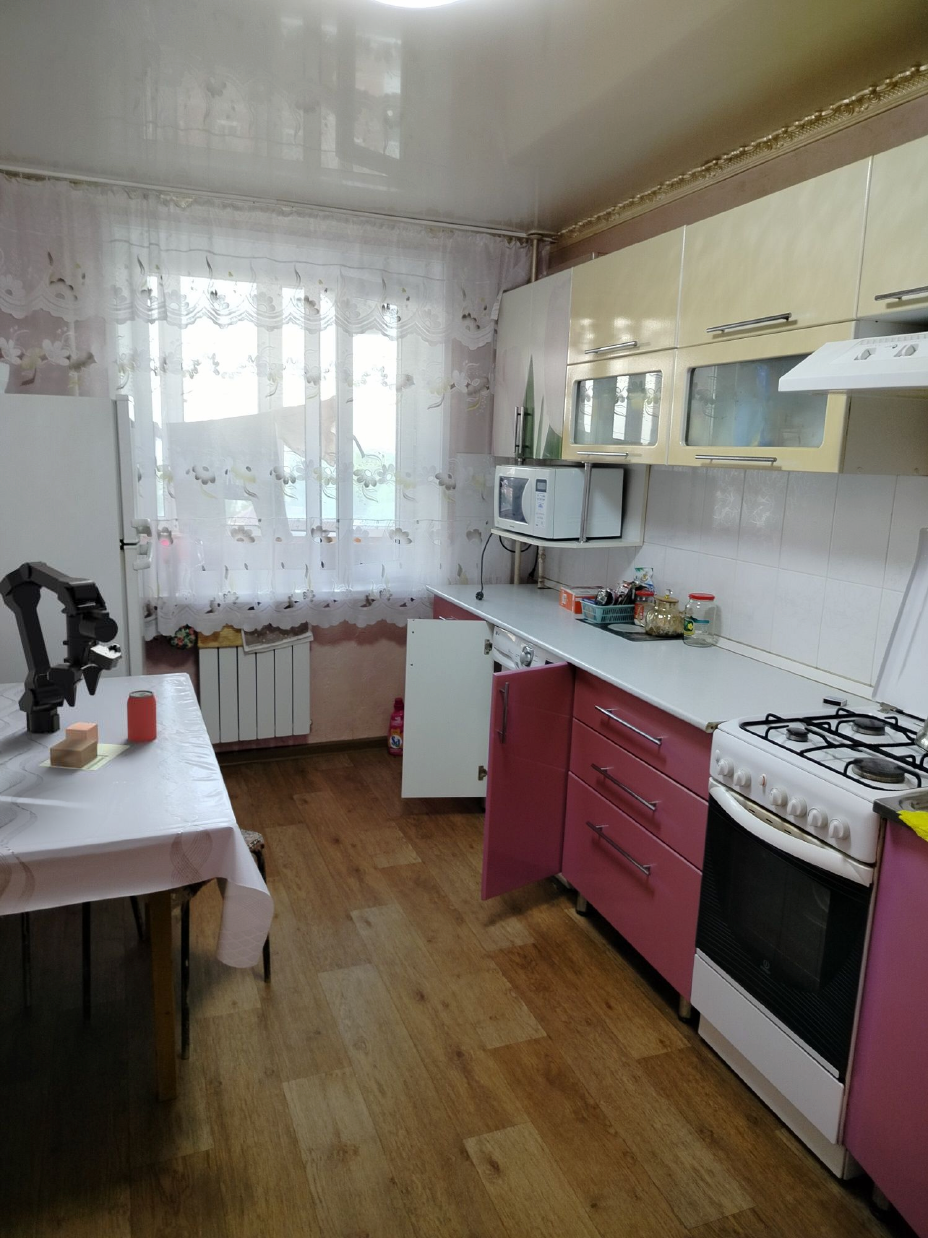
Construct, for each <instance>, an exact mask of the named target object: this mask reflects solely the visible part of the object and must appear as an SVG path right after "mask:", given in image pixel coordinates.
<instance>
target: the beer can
mask: <svg viewBox="0 0 928 1238" xmlns="http://www.w3.org/2000/svg"><path fill="white" fill-rule="evenodd" d="M126 719H127V721H126V722H127V723H126V724H127V740H128V741H129V742H132V743H148V742H152V741H154V740H156V739H157V735H158V734H157V733H158V732H157V731H158V730H157V726H158V725H157V700H156V697H155V695H154V692H153V691H152V690H148V689H147V690H144V689H143V690H134V691H131V692H129V695H128V699H127V701H126Z"/></svg>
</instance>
